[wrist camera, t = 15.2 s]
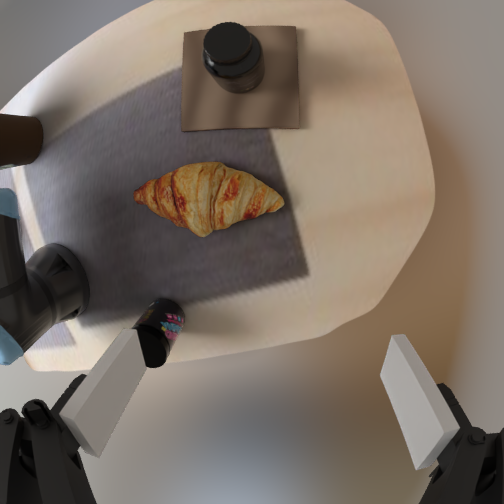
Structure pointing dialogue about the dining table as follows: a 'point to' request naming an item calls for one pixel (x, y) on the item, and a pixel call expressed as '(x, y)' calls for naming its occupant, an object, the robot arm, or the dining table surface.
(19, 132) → the olive oil
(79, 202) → the dining table surface
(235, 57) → the supplement bottle
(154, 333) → the supplement container
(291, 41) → the brown cloth napkin
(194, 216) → the croissant
